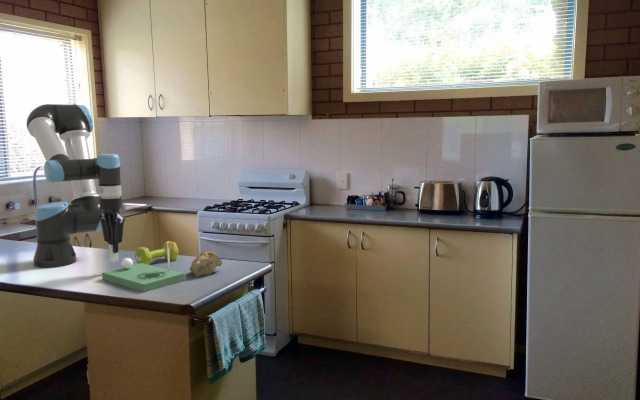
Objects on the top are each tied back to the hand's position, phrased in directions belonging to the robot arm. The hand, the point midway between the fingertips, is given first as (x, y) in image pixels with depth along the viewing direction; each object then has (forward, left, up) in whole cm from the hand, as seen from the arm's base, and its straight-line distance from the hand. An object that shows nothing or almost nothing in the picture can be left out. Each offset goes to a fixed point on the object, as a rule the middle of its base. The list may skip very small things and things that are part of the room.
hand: (114, 261), depth 199 cm
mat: (+17, 0, -4) cm, 17 cm away
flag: (+23, +7, -4) cm, 25 cm away
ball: (+8, 0, 0) cm, 8 cm away
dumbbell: (+1, +18, -5) cm, 19 cm away
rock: (+26, +18, -4) cm, 33 cm away
